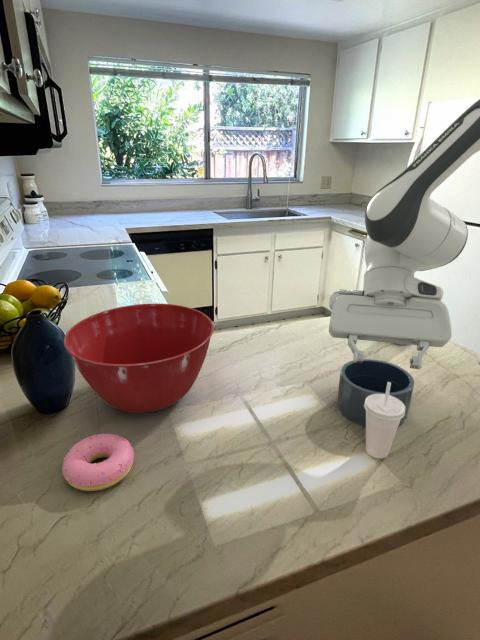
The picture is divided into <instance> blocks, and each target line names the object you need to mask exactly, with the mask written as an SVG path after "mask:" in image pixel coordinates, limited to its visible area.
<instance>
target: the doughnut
mask: <svg viewBox="0 0 480 640" xmlns="http://www.w3.org/2000/svg"><path fill="white" fill-rule="evenodd" d="M105 458H106V459H105ZM98 459H103V461H100V462H94V461H96V460H98ZM134 461H135V450H134V448H133V446H132V443H131V442H129V439H127V438H125V437H123V436H121V435H119V434H115V433H109V432H108V433H106V432H104V433H102V432H101V433H99V434H92V435H88V437H86V438H83V439H81V440H79V441H78V442H76V443H74V444H72V447H70V448H69V449H68V451H66V454H65V456H64V458H63V461H62V463H61V471H62V475H63V477H64V480H66V482H67V484H69V485H70V486H71V487H73V488H74V489H77V490H80V491H84V492H96V491H97V492H98V491H102V490H105V489H109V488H110V487H113V486H115V485H116V484H118V483H119V482H121V481H122V480H123V479H124V478H126V476H128V474H129V473H130V471H131V469H132V467H133V464H134ZM93 462H94V463H93Z"/></svg>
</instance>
